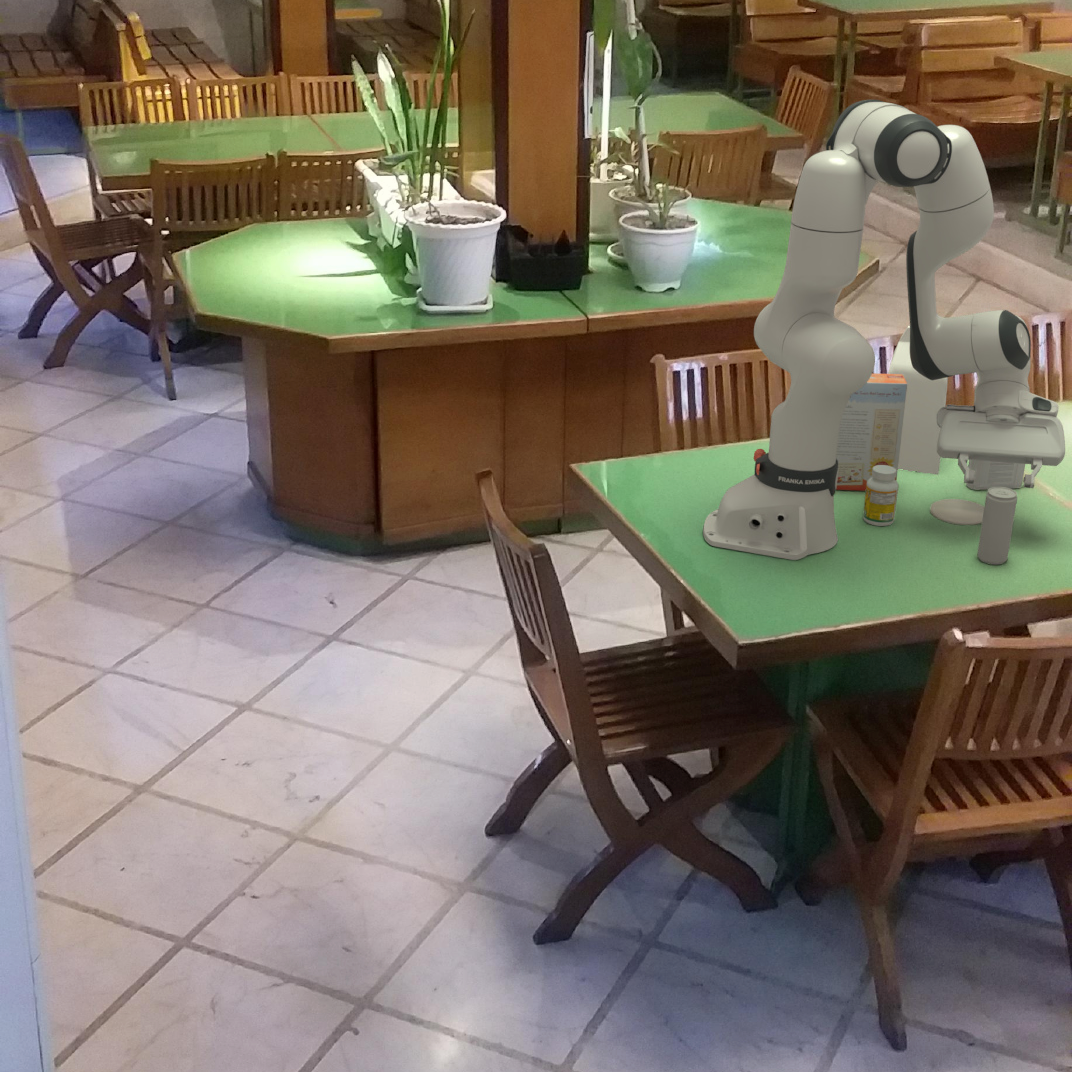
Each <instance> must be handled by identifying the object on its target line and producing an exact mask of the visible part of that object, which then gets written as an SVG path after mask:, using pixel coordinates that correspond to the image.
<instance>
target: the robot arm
mask: <svg viewBox="0 0 1072 1072" xmlns="http://www.w3.org/2000/svg"><path fill="white" fill-rule="evenodd" d="M976 143H977V142H976V141H975V139H974V138H973V135H972V134H971V133H970V131H969V130H968V129H966V128H965V127H964V126H960V125H957V124H942V125H936V124H935V123H934V122H933V121H932V120H931V119H929V118H928V117H926V116H925V115H921V114H919V113H915V112H913V111H911V110H909V108H907V107H904V106H903V105H899V104H896V103H891V102H885V101H882V100H879V99H863V100H859V101H856V102H854V103H852V104H850V105H849V106H847V107H846V108H845V109H844V110H843V111H842V112H841V113H840V115H839V116H838V118H837V120H836V121H835V124H834V127H833V129H832V132H831V134H830V136H829V138H828V140H827V141H826V144H825V145H826V146H825V148H826V149H825V150H822V151H820V152H816V153H814V154H813V155H812V156H810V157H809V158H808V159H807V160H806V161H805V163H804V165H803V167H802V170H801V172H800V173H801V174H800V177H799V179H798V184H797V188H796V191H795V196H794V200H793V204H792V205H793V206H792V211H791V212H792V213H791V221H790V229H789V238H788V244H787V252H786V260H785V266H784V271H783V275H782V278H781V281H780V284H779V286H778V288H777V291H776V294H775V296H774V297H773V299H772V300H771V302H770V303H768V304H767V305H766V306H765V307H763V309H762V310H761V311H760V312H759V314H758V316H757V318H756V320H755V322H754V326H753V327H754V328H753V337H754V341H755V344H756V345H757V347H758V348H759V349H760V350H761V352H762V354H764V356H765V357H766V358H767V359H768V360H769V361H770V362H771V363H772V364H774V365H775V366H778V367H779V368H781V369H782V370H784V371H786V372H787V373H789V375H790V386H789V390H788V393H787V395H786V398H785V399H784V401H783V402H781V403H779V404H778V405H777V406H776V407H775V408H774V409H773V411H772V413H771V418H770V419H771V421H770V428H769V429H770V430H769V431H770V433H769V444H768V452H767V453H766V451H765V449H763V448H757V449H756V450H755V451H754V453H753V461H754V462H755V464H754V474H752V475H750V476H749V477H747V478H745V479H744V480H741V481H740V482H738V483H736V484H733V486H731V487H729V488H728V489H727V490H726V491H725V493H723V496H722V498H721V500H720V502H719V505H718V509H716V510H713V511H712V512H710V513H709V514H708V515H707V516H706V518H705V520H704V522H703V523H704V524H703V529H702V536H703V538H704V540H705V541H706V542H707V543H708V544H709V545H710V546H713V547H716V548H723V549H728V550H734V551H738V552H739V551H740V552H746V553H751V554H757V555H761V556H767V557H774V558H780V559H784V560H790V561H796V560H801V559H803V558H805V557H807V556H809V555H813V554H818V553H821V552H826V551H828V550H831V549H832V548H833V547H835V546H836V545H837V543H838V541H839V537H838V531H837V528H836V526H837V525H836V519H835V505H834V503H835V502H834V500H835V494H836V491H837V490H836V488H837V480H838V469H839V468H838V460H837V459H836V456H837V447H838V438H839V431H840V424H841V419H842V415H843V412H844V409H845V407H846V405H847V402H848V400H849V398H850V397H851V395H852V394H853V393H854V392H856V391H858V390H859V389H861V388H862V387H863V386H864V385H865V384H866V383H867V381H868V380H869V378H870V377H871V375H872V373H874V369H875V364H876V356H875V355H876V354H875V351H874V349H873V346H872V345H871V344H870V343H869V341H868V340H867V339H866V338H865V337H864V336H863V335H862V333H860V332H859V331H858V330H857V329H856V328H855V327H853V326H852V325H850V324H847V323H846V322H844V321H842V320H840V319H838V318H836V317H835V308H836V304H837V302H838V299H839V297H840V294H841V293H842V291H843V289H845V288H846V287H848V286H850V284H852V283H853V282H854V281H855V280H856V278H857V276H858V271H859V265H860V264H859V263H860V258H861V257H860V256H861V248H862V241H863V234H864V227H865V216H866V205H867V202H868V200H869V197H870V195H871V192H872V191H873V189H874V188H875V186H876V185H877V183H878V182H883V183H885V184H888V185H890V186H893V187H897V188H912V187H913V188H914V192H915V197H916V202H917V206H918V211H919V223H918V227H917V230H916V231H914V232H913V233H911V234H910V236H909V237H908V241H907V242H908V243H907V246H906V247H907V248H906V256H905V258H906V259H905V261H906V264H905V265H906V267H905V269H906V283H907V284H906V286H907V300H908V317H909V326H910V346H909V353H910V359H911V363H912V366H913V368H914V369H915V370H916V371H917V372H918V373H920V374H921V375H923V376H924V377H926V378H928V379H930V380H937V379H942V378H946V377H948V378H950V377H953V376H959V375H966V374H967V375H968V374H975V373H976V377H977V382H976V385H975V387H974V400H973V405H964V404H963V405H955V404H946V405H945V407H942V408H941V409H939V411H938V412H937V425H938V426H939V427H940V432H939V437H938V442H937V453H938V455H939V456H940V457H941V459H953V460H957V465H958V466H957V467H959V469H960V470H961V472H962V474H964V475H963V476H964V477H963V483H964V484H966V483H970V484H973V483H974V479H975V477H974V475H975V471H973V470H970V469H969V467H968V462H969V460H979V461H993V462H1007V463H1020V464H1025V465H1030V470H1032V471H1031V473H1030V474H1025V473H1024V474H1025V475H1024V476H1023V481H1022V485H1023V488H1025V489H1026V488H1027V489H1034V486H1035V479H1036V477H1037V475H1038V473H1039V472H1040V470H1041V468H1042V467H1043V466H1048V467H1049V466H1050V467H1051V466H1052V467H1057V466H1059V465H1060V464H1061V463H1062V462H1063V461H1064V458H1065V456H1066V440H1065V439H1066V438H1065V431H1064V426H1063V423H1062V422H1061V420H1060V419H1059V418H1058V412H1059V404H1058V402H1056V401H1054V400H1051V399H1048V398H1045V397H1042V396H1040V395H1037V394H1034V393H1032V392H1031V391H1030V390H1031V389H1030V385H1029V383H1028V379H1029V375H1030V372H1031V351H1032V350H1031V349H1032V348H1031V346H1032V345H1031V335H1030V332H1029V328H1028V326H1027V323H1026V322H1025V320H1024V319H1023V318H1022V317H1020V316H1019V315H1016V314H1014V313H1012V312H1011V311H1009V310H1007V309H1004V310H1003V309H997V310H989V311H988V310H987V311H982V312H976V313H971V314H966V315H965V314H964V315H959V316H958V315H957V316H951V317H943V316H941V315H940V314H938V312H937V310H938V309H937V298H936V297H937V296H936V280H935V277H936V275H935V274H936V272H937V271H938V270H939V269H940V268H942V267H943V266H945V265H946V264H947V263H949V262H951V261H953V260H954V259H957V258H958V257H960V256H961V255H962V256H963V255H964V254H965V253H967V252H968V251H970V250H972V249H973V248H974V247H975V246H976V245H978V244H979V243H980V242H981V241H982V240H983V239H984V238H985V236H986V235H987V234H988V232H989V230H990V229H991V227H992V224H993V222H994V218H995V208H994V200H993V193H992V189H991V184H990V181H989V176H988V173H987V170H986V167H985V163H984V161H983V158H982V155H981V153H980V151H979V149H978V146H977V144H976ZM829 148H830V149H829ZM944 409H945V410H944Z"/></svg>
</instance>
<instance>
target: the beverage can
mask: <svg viewBox="0 0 1072 1072" xmlns="http://www.w3.org/2000/svg"><path fill="white" fill-rule="evenodd" d="M1017 495H1018V492H1017V491H1016V490H1015V489H1013V488H1012V489H1010V488H1006V487H992V488H989V489H987V492H986V495H985V500H984V505H983V506H984V513H983V519H982V523H981V526H980V533H979V540H978V547H977V553H976V556H977V557H978V559H979V560H980V561H981V562H983V563H985V564H989V565H992V566H993V565H997V566H998V565H1002V564H1004V563H1005V562H1007V560H1008V558H1009V557H1008V556H1009V552H1010V545H1011V540H1012V534H1013V533H1012V532H1013V527H1014V519H1015V516H1016V515H1015V514H1016V508H1017V504H1018V503H1017V501H1018V496H1017Z"/></svg>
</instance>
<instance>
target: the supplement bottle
mask: <svg viewBox="0 0 1072 1072" xmlns="http://www.w3.org/2000/svg"><path fill="white" fill-rule="evenodd" d="M895 477H896V469H895V468H893V467H891V466H887V465H876V466H874V467H873V468H872V477H871V478H870V479H869V480H868V481H867V485H866V491H865V494H864V495H865V496H864V506H863V513H862V518H863V519H862V520H863V521H864V522H865V523H867V524H869V525H872V526H876V527H885V526H886V527H887V526H890V525H892V524H893V523H894V521H895V518H896V517H895V515H896V510H897V509H896V508H897V501H898V494H899V493H898V492H899V483H898V481H897V480H895Z"/></svg>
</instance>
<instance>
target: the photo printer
mask: <svg viewBox="0 0 1072 1072" xmlns="http://www.w3.org/2000/svg"><path fill="white" fill-rule="evenodd" d="M967 466H968V467H969V469H970V470H973V471H975V475H974V477H975V479H974V483H973V484H970V483H965V484H966V486H967V488H968V489H970V490H988V489H989V488H992V487H1006V488H1010V489H1012V490H1013V489H1020V488H1021V487H1022V485H1023V480H1024V476H1025V475H1024V474H1025V468H1026V464H1020V463H1007V462H993V461H979V460H968V464H967Z"/></svg>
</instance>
